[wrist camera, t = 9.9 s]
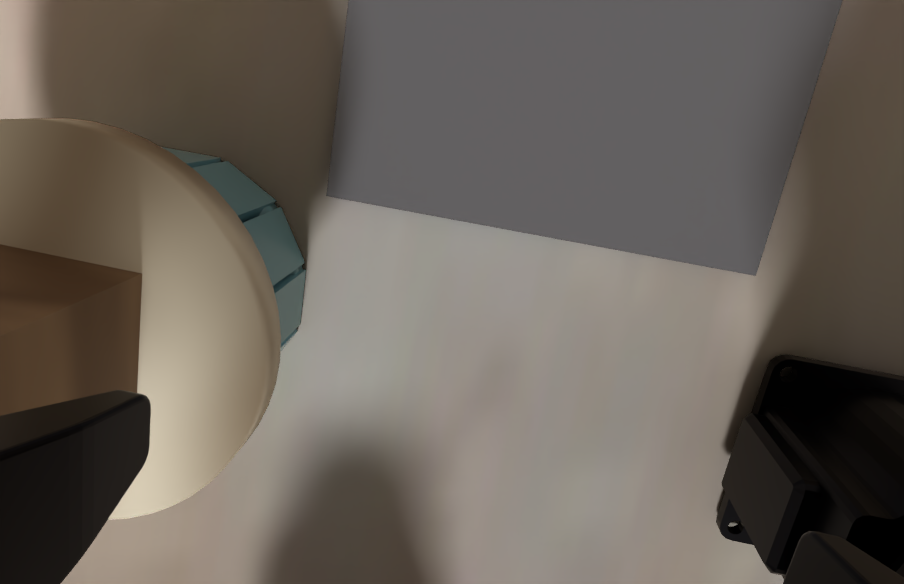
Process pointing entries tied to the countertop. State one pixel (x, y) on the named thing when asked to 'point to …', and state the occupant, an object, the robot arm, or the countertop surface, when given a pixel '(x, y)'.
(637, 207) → the rubber mat
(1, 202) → the wooden lid
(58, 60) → the countertop surface
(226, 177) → the ceramic bowl
